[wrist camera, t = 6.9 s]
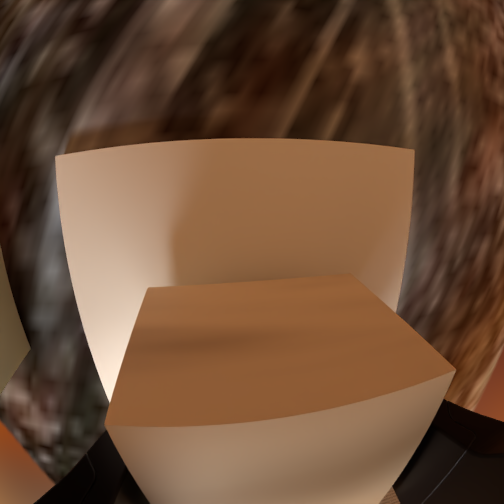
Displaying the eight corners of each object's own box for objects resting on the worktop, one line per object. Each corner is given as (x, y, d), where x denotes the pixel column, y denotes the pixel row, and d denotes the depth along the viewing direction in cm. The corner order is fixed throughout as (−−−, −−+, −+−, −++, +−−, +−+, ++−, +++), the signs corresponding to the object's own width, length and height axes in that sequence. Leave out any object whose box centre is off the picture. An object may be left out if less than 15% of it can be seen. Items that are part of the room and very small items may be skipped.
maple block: (328, 409, 11) (376, 507, 6) (177, 427, 10) (178, 540, 5) (350, 273, 9) (456, 369, 4) (147, 287, 8) (104, 424, 4)
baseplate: (357, 423, 14) (361, 430, 14) (135, 448, 13) (134, 456, 12) (405, 149, 10) (414, 149, 9) (62, 155, 8) (55, 156, 8)
